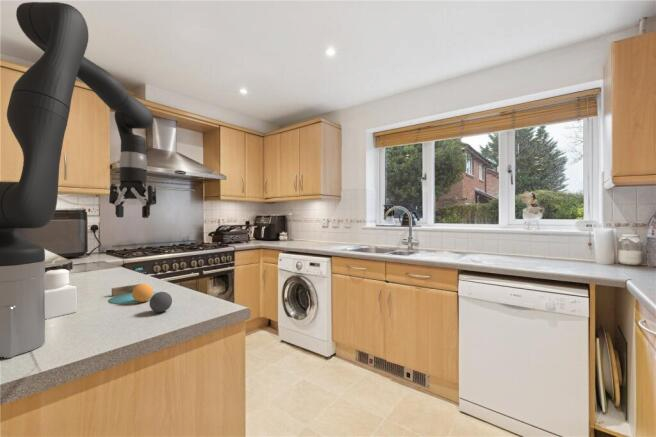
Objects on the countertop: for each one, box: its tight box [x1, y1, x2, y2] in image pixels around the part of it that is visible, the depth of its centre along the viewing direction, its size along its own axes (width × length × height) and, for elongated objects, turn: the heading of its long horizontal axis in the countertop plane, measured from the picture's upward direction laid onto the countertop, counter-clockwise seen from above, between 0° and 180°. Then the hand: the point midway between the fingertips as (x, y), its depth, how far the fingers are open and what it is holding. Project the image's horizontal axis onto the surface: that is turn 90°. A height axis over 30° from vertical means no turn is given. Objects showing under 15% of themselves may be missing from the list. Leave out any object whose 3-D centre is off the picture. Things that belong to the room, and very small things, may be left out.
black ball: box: [148, 291, 173, 313], centre depth 84 cm, size 6×6×6 cm
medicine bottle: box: [45, 267, 78, 321], centre depth 81 cm, size 7×7×12 cm
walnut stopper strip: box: [111, 283, 141, 297], centre depth 102 cm, size 9×1×2 cm, turn 139°
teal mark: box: [108, 291, 158, 305], centre depth 97 cm, size 14×14×1 cm
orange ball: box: [132, 283, 154, 303], centre depth 93 cm, size 6×6×6 cm
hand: (132, 217), depth 98 cm, fingers open, 8 cm apart
